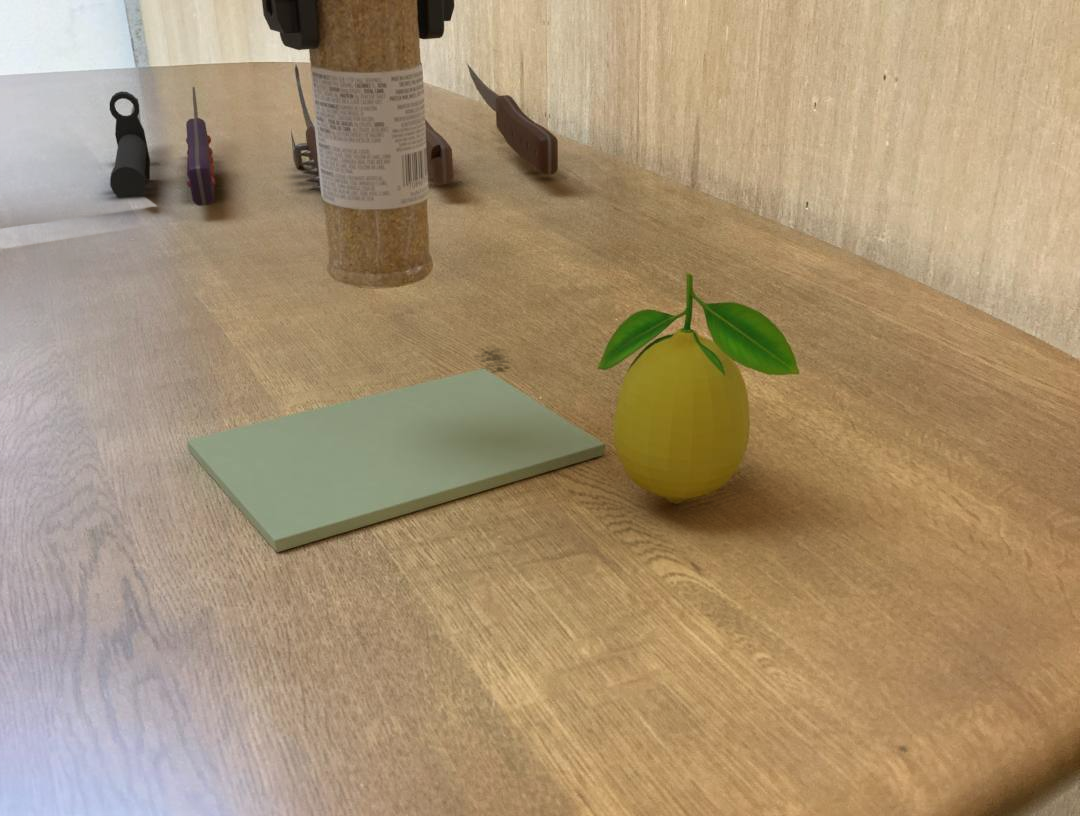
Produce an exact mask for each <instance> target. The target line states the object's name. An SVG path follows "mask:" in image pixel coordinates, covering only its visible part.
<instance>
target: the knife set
mask: <svg viewBox="0 0 1080 816" xmlns="http://www.w3.org/2000/svg"><path fill="white" fill-rule="evenodd" d="M466 65H467V68H468V72H469V75H470V77H471V80H472V82H473V84H474V86H475V89H476V90H477V91H478V93H479V95H480V96H481V97H482V99H483V100H484V102H485V103H486V104H487V106H488V107H489V108H490V109H492V111H494V112H495V120H496V121H495V124H496V128H497V130H498V131H499V132H500V134H501V135H502V137H503V139H504V140H505V142H506V144H507V145H508V146H509V147H510V148H511V149H512V150H513V151H514V152H515V153H516V154H518V155H519V156H520V158H522V159H524V160H526V161H527V162H528V163H529V164H531V165H532V166H533V167H534V168H535V169H536V170H537V171H538V172H539V173H540V174H542V175H544V176H548V175H554V174H555V173H557V171H558V169H559V140H558V138H557V137H556V136H555V135H554V134H553V133H552V132H551V131H550V130H548V129H547V128H546V127H544V126H542V125H540V124H539V123H537V122H535V121H534V120H533V119H531V118H530V117H529V116H528V115H527V114H525V113H524V112H523V110H522V109H521V108H520V106H519V105H518V103H517V102H516V100H515V99H514V98H513V97H512V96H511V95H508V94H506V95H505V94H504V95H499V94H498V93H496V92H495V91H494V90H492V89H491V88H490V87H489V86H487V85H486V84H485V83H484V82H483V80H482V79H480V78H479V76H478V74H476V73H475V71H474V70H473V69H472V67H471V66H470V65H469V64H468V63H466ZM294 73H295V74H294V75H295V80H296V87H297V93H298V95H299V96H298V97H299V101H300V106H301V109H302V110H301V111H302V115H303V118H304V122H305V126H306V130H305V139H306V141H305V142H303V143H298V144H296V143H295V139H294V136H293V132H292V130H290V132H291V133H290V135H291V138H290V139H291V146H292V147H291V148H292V159H293V163H294V165H295V167H296V168H298V169H299V168H301V167H302V166H307V167H311V169H309V170H306V171H303V172H302V174H307V175H313V176H314V177H312V178H308V179H306V180H305V182H308V183H309V182H310V183H317V185H316V186H313V187H311V188H307V190H308V191H313V192H314V191H315V192H319V193H321V188H320V178H319V167H318V156H317V146H316V136H315V125H314V124H313V121H312V119H311V117H310V113H309V111H308V108H307V105H306V101H305V97H304V93H303V89H302V85H301V79H300V72H299V68H298V66H297V64H295V67H294ZM196 95H197V94H196V88H195V86H192V105H193V118H189V119H187V121H186V123H185V126H186V138H185V142H186V144H187V151H186V154H187V159H186V161H187V168H186V176H187V178H188V179H187V180H186V185H187V186H188V188H190V193H191V199H192V202H193V203H194V205H197V206H198V207H203V206H210V205H212V204H213V203H214V201H215V190H214V186H215V185H216V179H215V177H214V176H215V166H214V157H213V153H214V151H213V149H212V148H211V147H210V144H211V142H212V137H211V136H210V135H209V134H208V130H207V125H206V121H205V120H204V119H202V118H201V117H199V114H198V113H199V112H198V103H197V96H196ZM122 99H125V100H126V101H127V100H128V101H129V102H130V103H131V104H132V108H131V110H130V114H129V115H123V114H121V113H119V111H117V109H116V103H117V102H118V101H119V100H122ZM109 112H110V114H111V116H112V117H113V118H114V119H115V132H114V135H115V141H116V145H117V148H116V149H117V150H116V155H115V162H114V167H113V168H112V170H111V172H110V177H109V185H110V188H111V190H112V193H113V194H115V196H116V197H117V198H119V199H121V198H122V199H123V198H138V197H143V196H144V193H145V192H146V189H147V181H150V178H151V176H150V175H151V170H150V169H151V158H150V154H149V153H150V152H149V148H148V143H147V138H146V132H145V129H144V126H143V125H142V122H141V121H142V120H141V111H140V103H139V98H138V97H136V96H134V94H132V93H130V92H128V91H123V90H121V91H118V92H115V93H114V94H113V95H112V96H111V98H110V100H109ZM425 127H426V149H427V170H428V174H429V175H430V176H431V177H432V179H433V180H434V182H435V183H436V184H438V185H448V184H450V183H451V182H453V180H454V166H453V165H454V164H453V149H452V147H451V146H450V144H449V143H448V141H447V140H446V139H445V138H444V137H443V136H442V135H441V134H440V133H439V132H438V131H436V130H435V129H434V128H433V126H432V125H431V124H430V123H429V122H428V121H427V119H426V118H425ZM303 151H304V152H303ZM302 157H308V159H309V160H307V161H305V162H303V158H302Z"/></svg>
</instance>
